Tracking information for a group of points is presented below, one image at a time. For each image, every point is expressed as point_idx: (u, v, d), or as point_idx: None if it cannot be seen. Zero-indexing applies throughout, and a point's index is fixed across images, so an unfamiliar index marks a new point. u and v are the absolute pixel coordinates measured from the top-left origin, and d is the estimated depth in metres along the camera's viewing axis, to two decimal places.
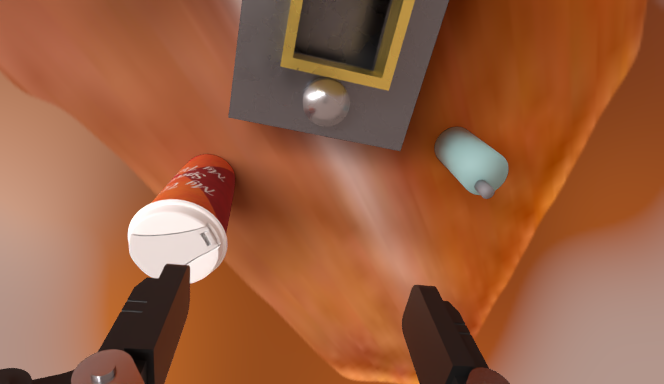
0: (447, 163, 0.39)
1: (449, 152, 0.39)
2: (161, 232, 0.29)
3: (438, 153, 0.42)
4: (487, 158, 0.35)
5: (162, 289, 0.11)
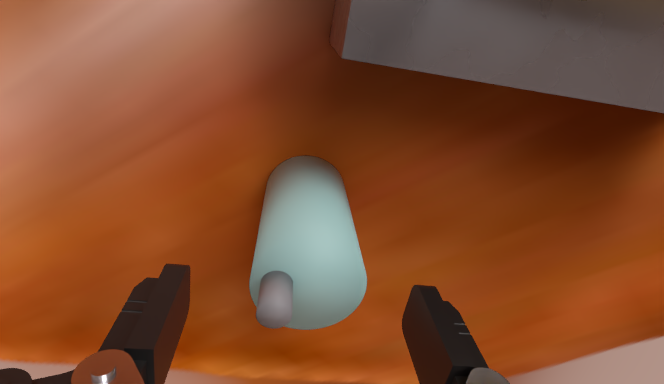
0: (292, 190, 0.17)
1: (319, 188, 0.17)
2: None
3: (294, 166, 0.19)
4: (350, 280, 0.14)
5: (162, 289, 0.11)
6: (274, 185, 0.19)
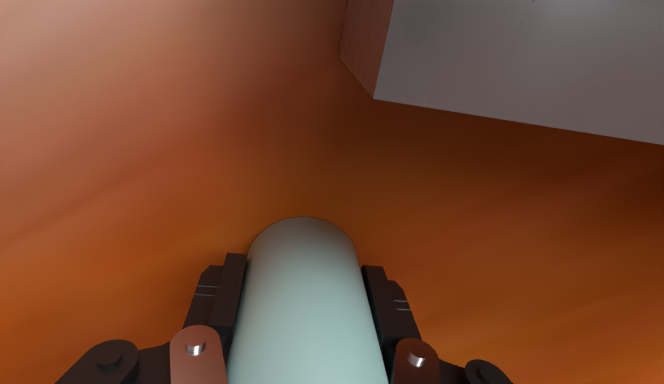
0: (282, 292, 0.11)
1: (325, 289, 0.11)
2: None
3: (286, 237, 0.13)
4: None
5: (229, 275, 0.12)
6: (255, 271, 0.12)
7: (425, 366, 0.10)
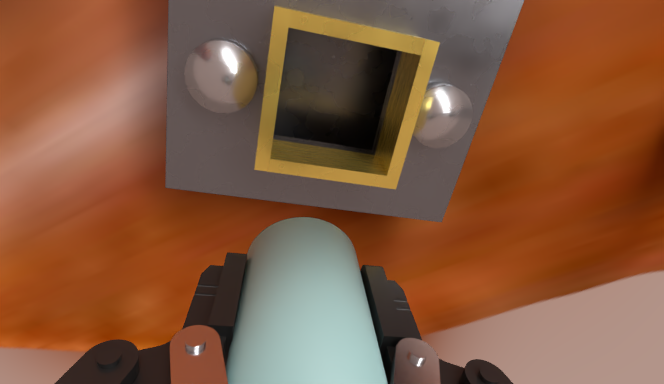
0: (281, 292, 0.11)
1: (324, 289, 0.11)
2: None
3: (285, 238, 0.13)
4: None
5: (229, 275, 0.12)
6: (255, 272, 0.12)
7: (425, 366, 0.10)
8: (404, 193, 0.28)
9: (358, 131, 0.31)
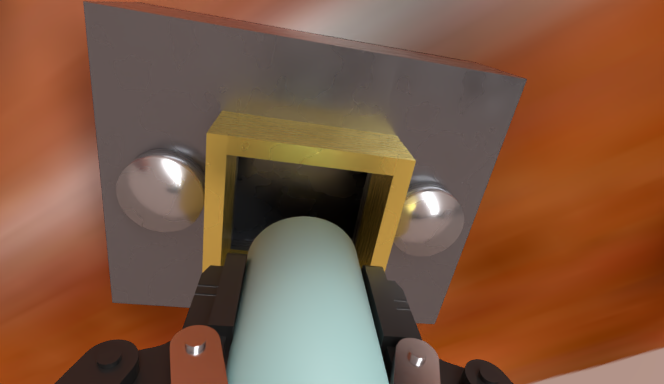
0: (282, 291, 0.11)
1: (325, 288, 0.11)
2: None
3: (286, 237, 0.13)
4: None
5: (229, 275, 0.12)
6: (255, 271, 0.12)
7: (425, 366, 0.10)
8: None
9: (339, 215, 0.27)
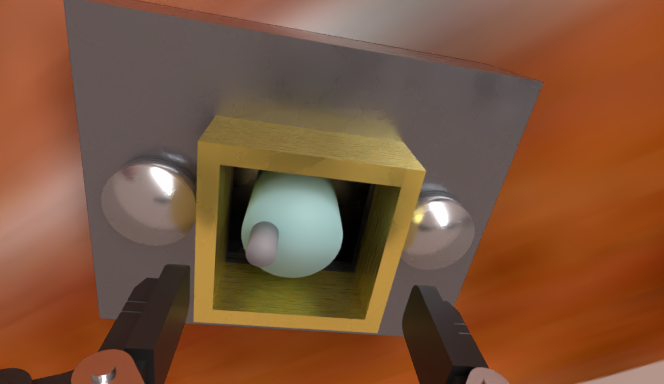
0: None
1: None
2: None
3: None
4: (328, 232, 0.17)
5: (162, 289, 0.11)
6: None
7: None
8: (393, 311, 0.23)
9: None
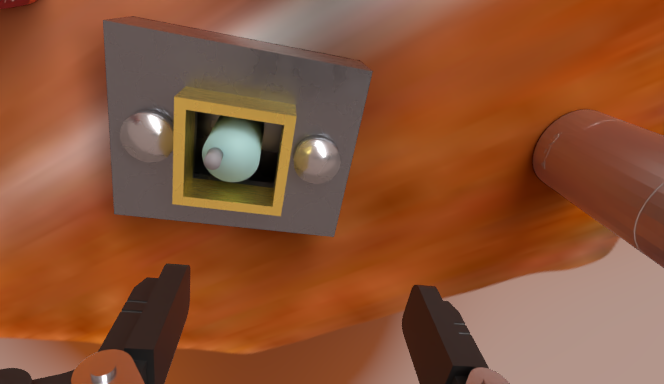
0: (227, 116, 0.32)
1: None
2: None
3: None
4: (251, 154, 0.30)
5: (162, 289, 0.11)
6: (220, 116, 0.34)
7: None
8: (300, 215, 0.36)
9: (272, 165, 0.39)
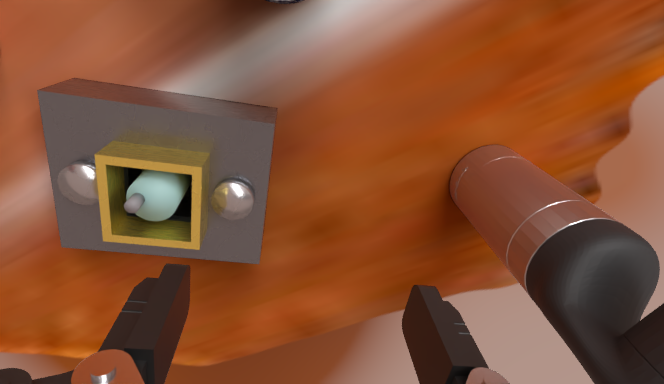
0: None
1: None
2: None
3: None
4: (169, 198, 0.35)
5: (162, 289, 0.11)
6: None
7: None
8: (226, 246, 0.41)
9: None
